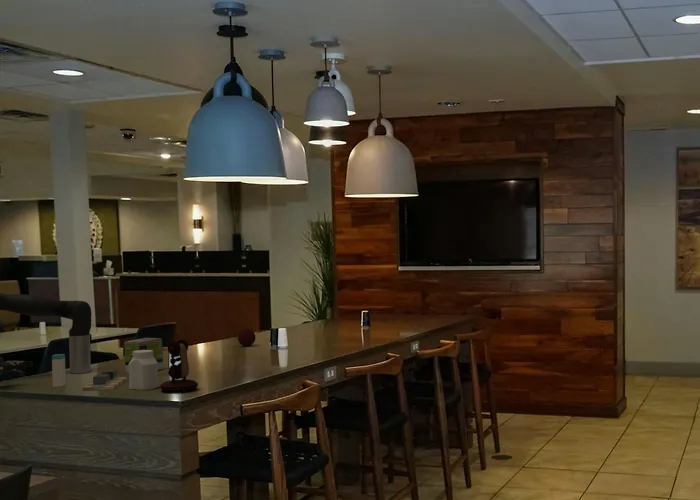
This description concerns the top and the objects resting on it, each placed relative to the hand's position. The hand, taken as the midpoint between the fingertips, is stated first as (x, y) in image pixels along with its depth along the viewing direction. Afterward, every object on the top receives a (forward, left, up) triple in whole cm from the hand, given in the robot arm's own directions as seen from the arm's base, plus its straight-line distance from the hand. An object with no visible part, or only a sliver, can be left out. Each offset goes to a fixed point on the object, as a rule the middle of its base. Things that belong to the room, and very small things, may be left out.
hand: (29, 365), depth 366 cm
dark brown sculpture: (+21, +66, -9) cm, 70 cm away
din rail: (+2, +32, -8) cm, 33 cm away
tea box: (-36, +40, -9) cm, 55 cm away
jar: (+12, +50, -9) cm, 52 cm away
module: (0, +12, -9) cm, 15 cm away
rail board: (+2, +32, -9) cm, 34 cm away
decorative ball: (-123, +79, -9) cm, 147 cm away
